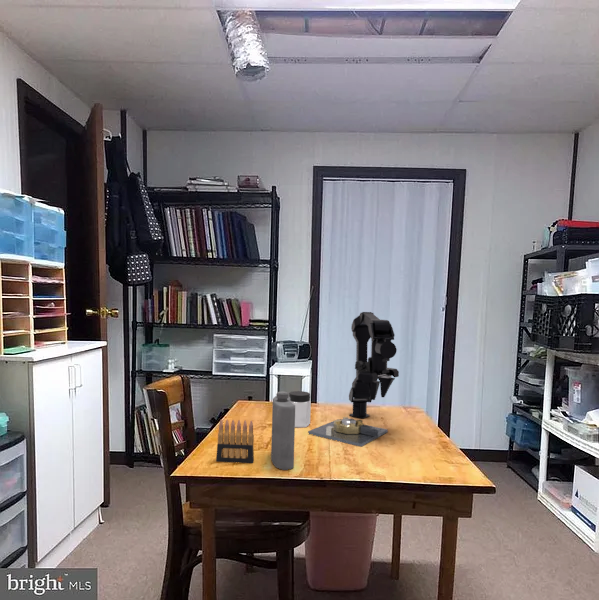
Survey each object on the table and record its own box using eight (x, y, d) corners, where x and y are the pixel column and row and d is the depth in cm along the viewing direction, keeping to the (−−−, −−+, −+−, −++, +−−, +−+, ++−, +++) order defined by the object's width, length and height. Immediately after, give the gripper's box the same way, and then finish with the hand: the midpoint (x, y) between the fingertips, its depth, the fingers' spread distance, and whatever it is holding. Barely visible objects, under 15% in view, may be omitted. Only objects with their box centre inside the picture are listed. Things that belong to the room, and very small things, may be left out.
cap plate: (338, 421, 170) (338, 410, 170) (387, 432, 157) (387, 419, 157) (308, 433, 152) (308, 421, 152) (361, 446, 140) (361, 432, 140)
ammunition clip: (215, 461, 124) (217, 419, 124) (217, 459, 126) (218, 418, 126) (252, 463, 123) (254, 421, 123) (253, 460, 125) (255, 419, 125)
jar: (314, 425, 163) (315, 394, 163) (297, 429, 158) (298, 396, 158) (299, 420, 170) (300, 390, 170) (283, 423, 165) (284, 392, 165)
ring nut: (329, 430, 154) (329, 420, 154) (343, 424, 162) (343, 415, 162) (372, 439, 144) (373, 430, 144) (385, 433, 152) (385, 423, 152)
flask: (269, 452, 133) (270, 387, 133) (287, 451, 134) (289, 387, 134) (274, 470, 118) (276, 398, 118) (294, 470, 119) (297, 397, 119)
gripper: (374, 351, 166) (373, 391, 166) (345, 354, 153) (344, 398, 153) (400, 354, 159) (398, 396, 159) (372, 357, 145) (371, 404, 145)
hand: (378, 398), depth 154 cm, fingers open, 6 cm apart
